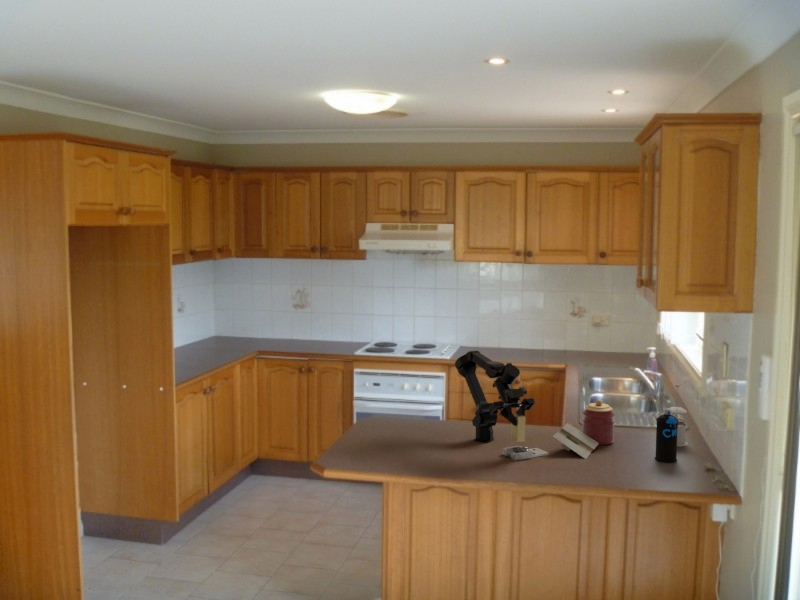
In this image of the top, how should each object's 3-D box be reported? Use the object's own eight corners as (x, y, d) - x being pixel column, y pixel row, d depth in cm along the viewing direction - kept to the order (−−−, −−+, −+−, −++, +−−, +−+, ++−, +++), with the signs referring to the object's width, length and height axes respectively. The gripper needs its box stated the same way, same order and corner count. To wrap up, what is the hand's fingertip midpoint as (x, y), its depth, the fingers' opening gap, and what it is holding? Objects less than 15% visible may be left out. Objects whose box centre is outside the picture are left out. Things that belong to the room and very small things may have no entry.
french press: (670, 447, 322) (672, 386, 319) (656, 439, 333) (658, 381, 331) (692, 445, 324) (694, 385, 321) (677, 438, 335) (679, 380, 332)
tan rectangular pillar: (510, 439, 310) (511, 414, 309) (518, 438, 311) (519, 413, 310) (517, 442, 306) (517, 417, 305) (524, 441, 307) (525, 416, 306)
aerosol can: (650, 457, 307) (651, 407, 305) (667, 455, 310) (669, 405, 308) (664, 464, 300) (666, 412, 298) (681, 461, 302) (683, 410, 300)
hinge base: (513, 460, 303) (513, 452, 303) (501, 454, 311) (501, 446, 311) (549, 455, 310) (549, 447, 310) (536, 449, 318) (536, 441, 318)
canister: (618, 440, 332) (619, 399, 330) (606, 447, 322) (607, 404, 320) (589, 435, 340) (590, 394, 338) (576, 441, 329) (577, 400, 327)
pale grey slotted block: (586, 455, 324) (560, 428, 328) (600, 442, 319) (572, 416, 323) (572, 472, 311) (544, 444, 315) (585, 459, 306) (557, 431, 310)
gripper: (493, 381, 305) (508, 416, 297) (533, 377, 313) (549, 411, 305) (482, 397, 313) (496, 431, 305) (521, 392, 321) (536, 426, 313)
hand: (520, 424), depth 307 cm, fingers closed on tan rectangular pillar, 4 cm apart
